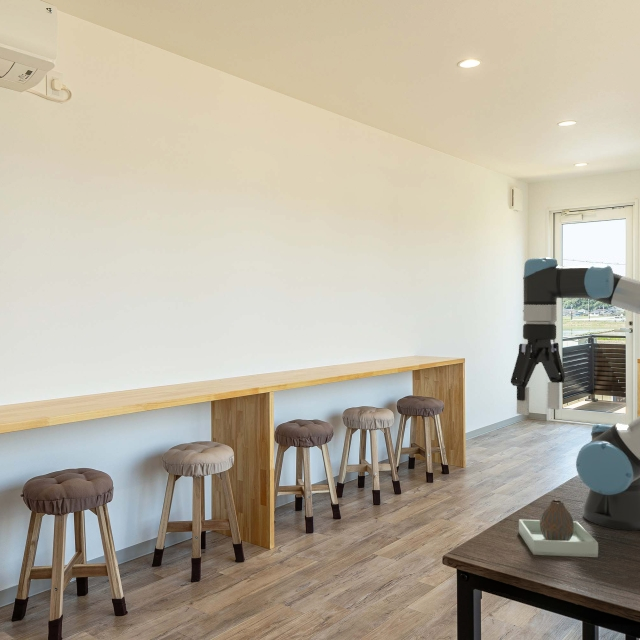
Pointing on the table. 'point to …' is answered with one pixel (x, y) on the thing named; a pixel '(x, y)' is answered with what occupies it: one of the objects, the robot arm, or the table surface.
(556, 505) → the vase
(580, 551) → the tray
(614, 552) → the table surface
